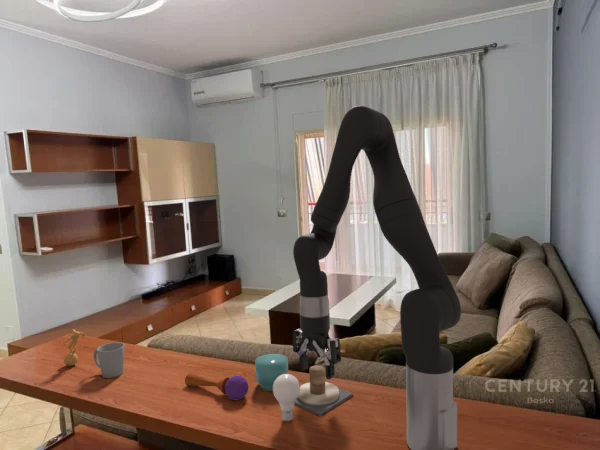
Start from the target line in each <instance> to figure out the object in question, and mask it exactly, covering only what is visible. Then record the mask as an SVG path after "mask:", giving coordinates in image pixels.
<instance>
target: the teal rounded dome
mask: <svg viewBox="0 0 600 450" xmlns="http://www.w3.org/2000/svg"><path fill="white" fill-rule="evenodd" d="M254 364H255V365H254V366H255V367H254V368H255V380H256V382H257V383H258V384H259V388H260V389H262V390H263V391H268V392H273V384H274V381H275V380H276V378H277V377H279V376H280V375H282V374H289V359H288V357H287V356H286V355H283V354H280V353H267V354H264V355H261V356H257V358H256V359H254Z"/></svg>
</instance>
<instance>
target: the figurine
mask: <svg viewBox="0 0 600 450" xmlns="http://www.w3.org/2000/svg"><path fill="white" fill-rule="evenodd" d="M80 335H82V337H81V339H82V340H85V332H82V331H81V332H80V331H77V330H76V329H74V328H73V329H71V335H70V336H69V337H68V338H67V339H66V341H64V343H63V345H62V346H61V350H62V349H63V348H64V346H65V345H66V344H67V343H68V341H70V340H71V341H70V342H69V344H68V345H67V349H68V350H69V353H67V354H66V355H65V356H64V358H63V363H64V364H65V366H68V367H72V366H74V365H76V364H77V363H78V360H79V356H78V355H77V354H76V353H75V352H76V351H77V346H76V345H77V344H78V342H79V340H78V339H79V338H80ZM71 347H73V348H71ZM73 349H74V350H73Z"/></svg>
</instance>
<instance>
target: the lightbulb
mask: <svg viewBox="0 0 600 450" xmlns="http://www.w3.org/2000/svg"><path fill="white" fill-rule="evenodd" d="M300 386H301V385H300V382H299V379H298V378H297V377H296V376H294V374H290V373H288V374H282V375H280V376H279V377H277V378H276V380H275V381H274V384H273V391H272V393H273V395H274V398H275V399H276V400H277V402H278V404H279V407H280V409H281V420H282V421H284V422H290V421H292V420H293V419H294V407H295V404H294V402H295V400H296V399H297V397H298V395H299V393H300Z"/></svg>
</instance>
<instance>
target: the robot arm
mask: <svg viewBox="0 0 600 450" xmlns="http://www.w3.org/2000/svg"><path fill="white" fill-rule="evenodd" d="M333 148H334V149H333V152H332V156H331V159H330V163H329V167H328V171H327V173H326V175H327V176H326V178H325V180H324V184H323V187H322V189H321V192H320V194H319V196H318V198H317V201H316V203H315V204H314V205H315V206H314V207H313V210H312V212H311V215H310V221H311V223H312V229H311V232H310V233H307V234H303V235H300V236H299V237H297V239H296V240H295V242H294V245H293V251H292V252H293V253H292V254H293V260H294V263H295V268H296V272H297V274H298V277H299V294H300V295H299V325H300V328H298V329H295V330H293V331H292V352H293V353H297V355H298V358H299V367H300V370H301V371H302V372H303V371H306V370H308V369H309V355H308V353H309V352H314V353H316V354H318V355H319V357H320V358H322V359H323V362H324V363H325V380H326V379H327V380H331V379H333V378H334V377H335V373H336V372H335V365H337V364H339V363H340V362H342V355H341V354H342V352H341V342H340V341H341V340H340V338H338V337H336V338H330V335H329V332H330V330H331V319H330V318H331V317H330V300H329V287H328V276H327V273H326V272H325V271H324V270H321V265H320V261H321V260H324V259H325V258H326V257H327V256H328V255H329V254H330V252H331V251H332V248H333V246H334V242H335V239H336V236H337V230H338V225H339V224H340V222H341V220H342V217H343V215H344V213H345V212H346V211H345V210H346V208H347V206H348V203H349V199H350V193H351V180H352V172H353V169H354V164H355V163H356V160H357V158H358V156H359V154H360V153H361V151H362V150H363V152H364V154H365V156H366V157H367V159H368V161H369V164H370V167H371V170H372V171H371V172H372V174H373V194H372V203H373V210H374V212H375V216H376V219H377V222H378V224H379V228H380V230H381V233H382V235H383V237H384V239H385V240H386V241H387V242H388V243H389V245H391V247H392V248H393V249H394V250H395V251H396V252H397V253H398V255H400V256H401V258H403V260H404V261H405V262H406V263H407V265H408V266H409V268H410V269H411V271H412V273H413V275H414V278H415V280H416V284H417V285H418V288H416V289H413V290H410V291H408V292H406V294H404V295H403V298H402V300H401V303H400V310H399V312H400V313H399V321H400V334H401V345H402V351H403V353H404V355H405V371H406V372H405V384H406V385H405V393H406V394H405V396H406V397H405V399H406V400H405V401H406V405H405V406H406V407H405V409H406V411H405V412H406V432H405V433H406V444H407V446H408V447H409V449H410V450H455V449H456V448H457V446H458V403H457V401H454V355H453V353H452V351H451V350H450V349H448V348H447V347H444V346H443V345H441V338H440V332H442V331H446V330H449V329H452V328H454V327H455V326H457V324H458V323H459V322H460V321H461V317H462V308H461V302H460V298H459V297H458V294H457V292H456V290H455V288H454V286H453V283H452V281H451V279H450V278H449V276H448V274H447V272H446V269H445V267H444V265H443V264H442V262H441V259H440V257H439V255H438V253H437V250H436V247H435V245H434V243H433V240H432V238H431V235H430V232H429V230H428V228H427V225H426V222H425V220H424V219H425V218H424V216H423V213H422V210H421V208H420V205H419V203H418V201H417V198H416V195H415V192H414V191H413V188H412V185H411V182H410V180H409V176H408V175H407V172H406V170H405V168H404V165H403V163H402V159H401V156H400V153H399V149H398V145H397V141H396V136H395V133H394V129H393V126H392V123H391V121H390V119H389V118H388V117H387V115H385V114H384V113H382V112H380V111H378V110H375V109H373V108H371V107H368V106H366V105H356V106H353V107H351V108H350V109H348V111H347V112H346V113H345V114H344V116H343V118H342V120H341V123H340V125H339V129H338V133H337V136H336V140H335V145H334V147H333Z"/></svg>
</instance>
